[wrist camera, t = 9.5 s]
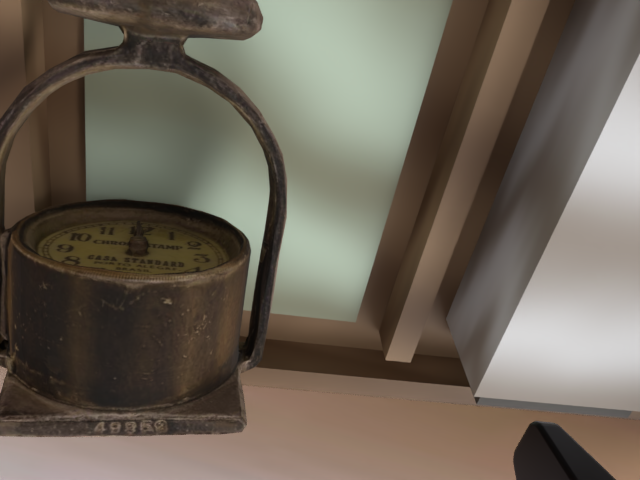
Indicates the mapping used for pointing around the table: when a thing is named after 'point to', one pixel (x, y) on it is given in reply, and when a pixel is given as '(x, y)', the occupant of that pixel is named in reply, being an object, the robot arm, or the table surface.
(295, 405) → the table surface
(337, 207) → the rail board
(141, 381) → the bronze arched handle device
